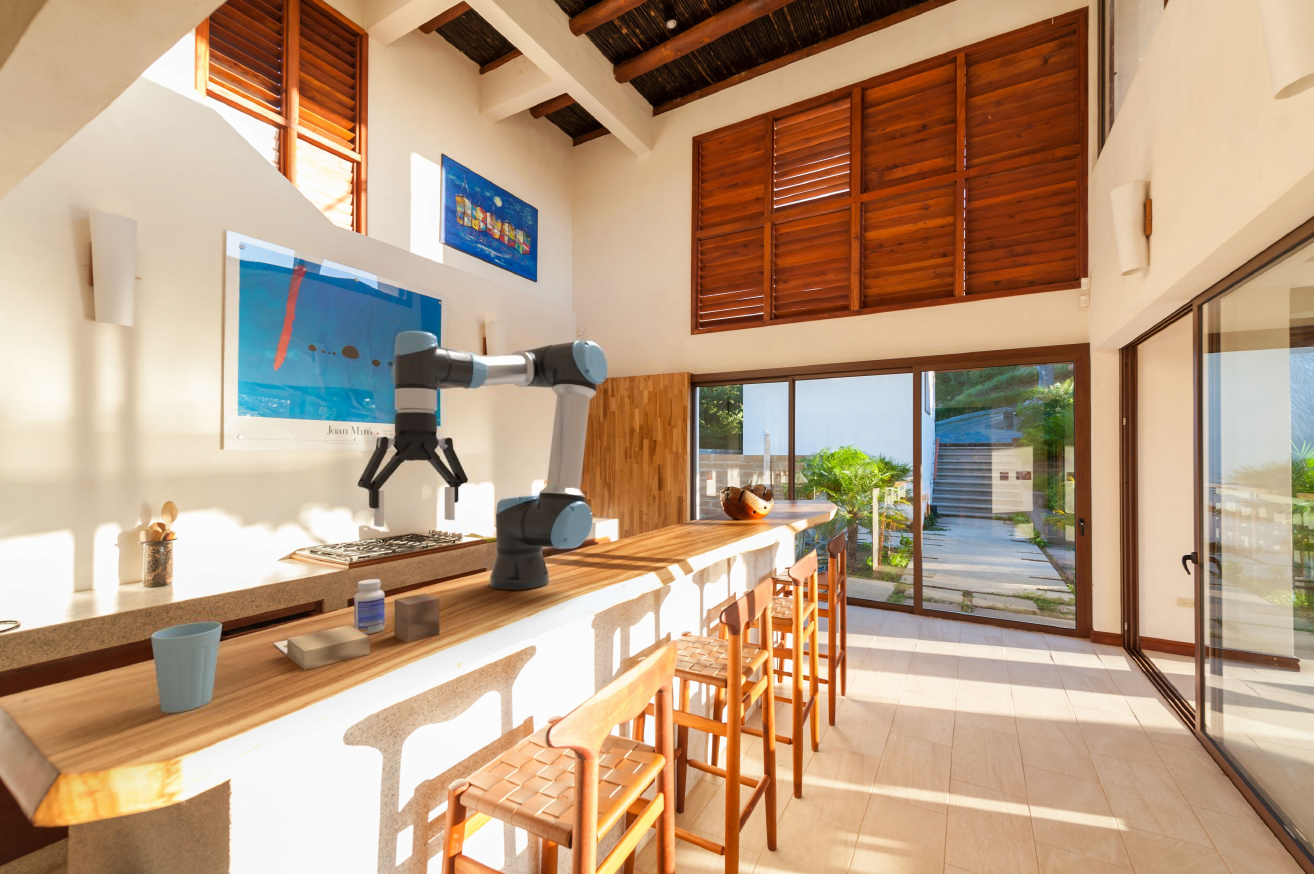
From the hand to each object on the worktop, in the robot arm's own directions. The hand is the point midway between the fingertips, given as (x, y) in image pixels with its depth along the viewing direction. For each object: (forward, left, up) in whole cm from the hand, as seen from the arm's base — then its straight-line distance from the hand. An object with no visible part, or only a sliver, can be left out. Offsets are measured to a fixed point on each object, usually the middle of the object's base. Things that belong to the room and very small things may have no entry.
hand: (415, 523), depth 110 cm
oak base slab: (+15, -1, -21) cm, 26 cm away
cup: (+35, +6, -22) cm, 41 cm away
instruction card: (+15, -11, -21) cm, 28 cm away
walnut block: (0, 0, -22) cm, 22 cm away
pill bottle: (+5, -10, -22) cm, 24 cm away
